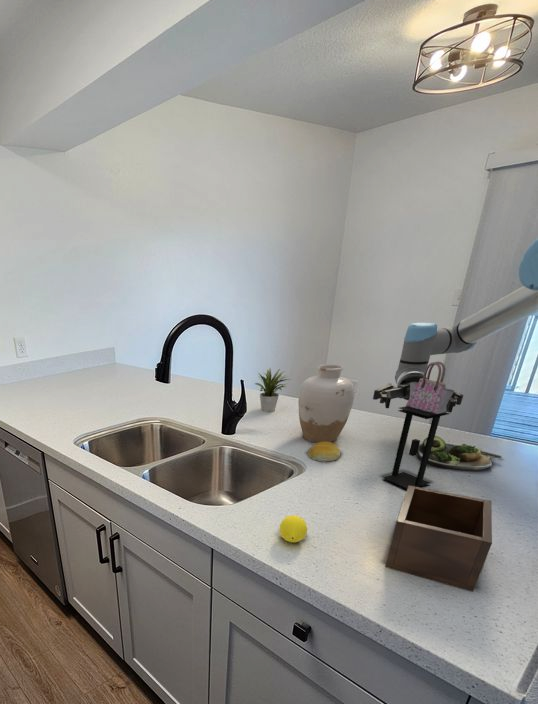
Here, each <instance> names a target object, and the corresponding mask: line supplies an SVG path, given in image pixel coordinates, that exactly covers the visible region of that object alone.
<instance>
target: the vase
mask: <svg viewBox="0 0 538 704" xmlns="http://www.w3.org/2000/svg"><path fill="white" fill-rule="evenodd" d="M317 370H318V374H317V375H313V376H310V377H308V378H307V379H305V380H304V381H303V382H302V385H301V387H300V390H299V393H298V402H297V403H298V404H297V405H298V407H297V408H298V419H299V425H300V429H301V433H302V435H303V438H304V439H305V440H307V441H308V442H312V443H316V444H317V443H319V442H331V443H334V442H335V441H336V440H337V439H338V438H339V436H340V434H342V433H341V432H342V431H343V430H344V428H345V426H346V424H347V422H348V419H349V417H350V414H351V411H352V408H353V405H354V401H355V386H354V384H353V382H352V380H351V379H349V378H347V377H344V376H341V373H342V371H343V370H344V366H343V365H340V364H333V363H332V364H331V363H327V364H320V365H318V366H317Z"/></svg>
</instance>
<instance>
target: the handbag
mask: <svg viewBox="0 0 538 704" xmlns="http://www.w3.org/2000/svg"><path fill="white" fill-rule="evenodd" d="M435 366H436V367H437V369H438V373H437V379H436V380H432V379H431V373H432V370H433V368H434V367H435ZM445 375H446V365H445V364H444V363H443V362H442V361H434V362H429V363H428V366H427V368H426V370H425V372H424V376H423V378H421V379H420V380H419V382H410V398H409V400H407V402H406V404H405V406H400V407H398V409H399V410H397V412H400V413H404V414H405V417H404V421H403V425H402V428H401V429H402V430H401V434H400V438H399V441H398V447H397V450H396V453H395V459H394V463H393V468H392V472H391V474H389V475H386V476H382V477H381V478H382V481H383V482H385V483H386V484H389V485H392V486H394V487H397V488H399V489H401V490H403V491H405V492H407V489H408V486H409V485H410V486H415V487H421V488H426V487H429V486H430V484H431V482H430V481H427V480H425V479H424V478H425V477H424V476H425V474H426V470H427V466H428V465H427V463H428V459H429V456H430V452H431V448H432V445H433V441H434V438H435V436H436V434H437V431H438V426H439V424H440V423H439V422H440V420H441V417H443V416H447V415H450V410H446V405H447V403H448V401H449V399H450V397H451V396H452V394H453V393H454V392H455V390H454V389H450V388H446V382H444V379H445ZM426 377H427V379H426ZM445 388H446V389H445ZM413 416H414V417H417V418H421V419H425V420H429V419H431V422H430V427H429V430H428V434H427V437H426V438H427V441H426V445H425V449H424V452H423V456H422V460H421V461H420V464H419V466H418V467H419V468H418V472H417V475H416V476H415V475H413V474H410V473H408V472H405V471H401V472H400V468H401V465H402V460H403V456H404V453H405V448H406V445H407V441H408V440H407V439H408V436H409V432H410V427H411V424H412V421H413V420H412V419H413ZM419 444H421V440H420V439H417V438H414V439H411V443H410V447H409V451H408V455H409V456H412V457H415V456H418V453H417V451H418V448H419Z"/></svg>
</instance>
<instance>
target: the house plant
mask: <svg viewBox="0 0 538 704" xmlns="http://www.w3.org/2000/svg"><path fill="white" fill-rule="evenodd" d="M280 370H281V368H279V369H277V371H276V372H275V373H274V375H273V377H272V370H271V368H269V369H267V371H266V373H265V372H263V374H264V375H265V376H264V375H262V374H261V373H259V372H257V373H258V375H259V376H258V378H259V379H260V380H261V382H262V384H261V383H259V382H255V383H254V385H257V386H259V387H260V391H259V392H260V394H259V398H260V399H259V400H260V409H261V410H260V411H261V412H264V413H273V412H275V411H276V408H277V405H278V404H277V403H278V400H279V396H280V394H279V393H278V392H277V391H278V390H280V392H283V388H286V387H287V384H286V383H281V382H285V381H290V380H291V378H286V377H288V374H286V375H283V374H284V373H285V372H286V371H282V372H280ZM279 372H280V373H279ZM282 375H283V376H282ZM292 375H293V374H290V376H292ZM285 378H286V379H285ZM262 391H263V392H262Z"/></svg>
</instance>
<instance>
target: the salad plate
mask: <svg viewBox="0 0 538 704" xmlns="http://www.w3.org/2000/svg"><path fill="white" fill-rule="evenodd" d="M426 441H427V437H425V439H423V441H422V442H420V444H419V448H418V451H417V458H418V460H419V461H420V462H421V460H422V456H423V452H424V449H425V445H426ZM482 449H483V448H481V447H480V448H477V447H476V446H475V445H473V446H472V445H468V444H465V443H463V444H452V443H446V441H445V440H444V439H443V438H442V437H440V436H437V435H435V438H434V441H433V445H432V448H431V452H430V456H429V459H428V463H427V466H430V467H435V468H440V469H450V470H457V471H458V470H461V471H481V470H485V469H488V468H490V467H493V463H492V461H491V459H501V458H502V455H500V454H496V453H493V452H492V453H491V452H487V451H484V450H482Z"/></svg>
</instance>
